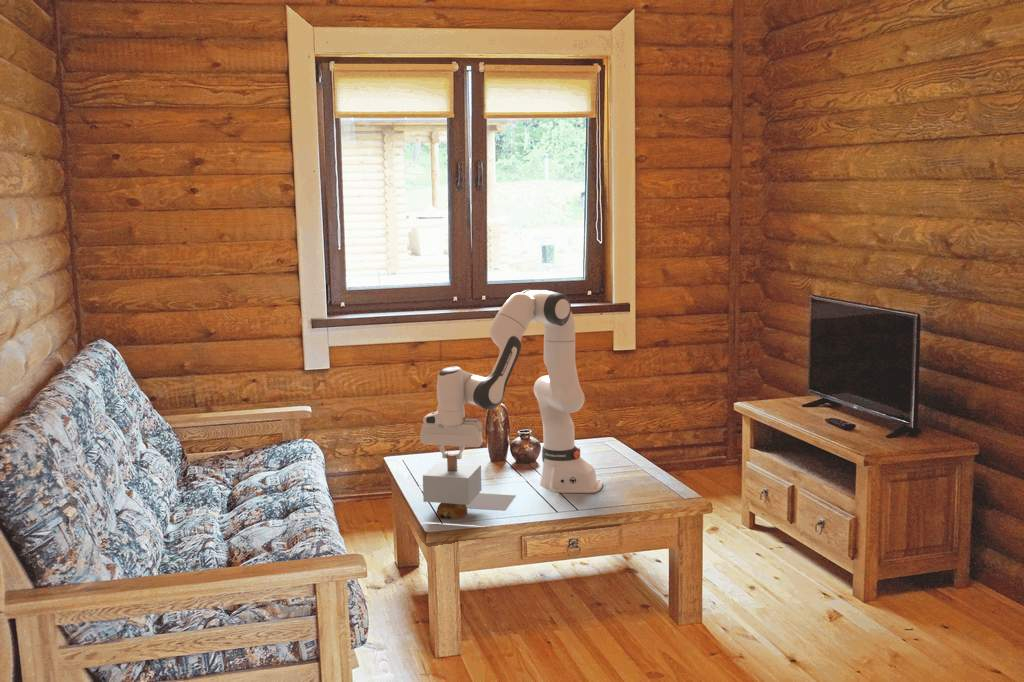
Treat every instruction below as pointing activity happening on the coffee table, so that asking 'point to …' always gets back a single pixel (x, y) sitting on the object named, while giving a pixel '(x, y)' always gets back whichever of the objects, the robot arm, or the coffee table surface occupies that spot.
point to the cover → (452, 482)
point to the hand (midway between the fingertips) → (452, 458)
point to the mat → (491, 501)
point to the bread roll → (451, 510)
